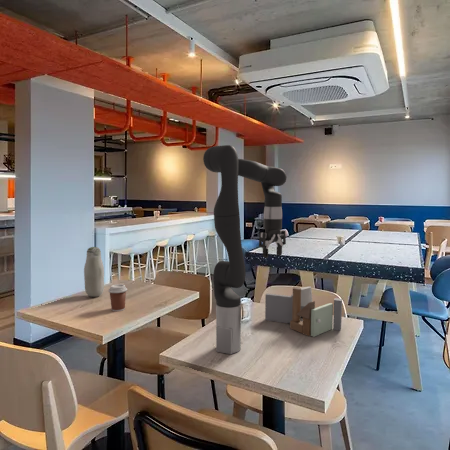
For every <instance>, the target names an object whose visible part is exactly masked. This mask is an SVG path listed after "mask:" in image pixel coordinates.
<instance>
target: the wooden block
mask: <svg viewBox="0 0 450 450" xmlns="http://www.w3.org/2000/svg"><path fill="white" fill-rule="evenodd" d="M301 288H302V287H297V286H295V287H293V288H292V294H293V303H292V320H291V321H290V323H289V328H290V330H293V331H295V332H297V333H300V334H302V335H305V336H306V337H307V336H308V337H310V336H311V309H314V308H316V301H315V300H314V301H313V300H312V302H309V303H308V304H307V305H306V306H305V307H304V308H303V309H302V310H301ZM301 318H302V321H301ZM311 337H312V336H311Z"/></svg>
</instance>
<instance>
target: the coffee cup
mask: <svg viewBox="0 0 450 450" xmlns="http://www.w3.org/2000/svg"><path fill="white" fill-rule="evenodd" d="M107 291H108V293H109V299H110V305H111V306H110V307H111V311H113V312H121V311H125V309H126V299H127V298H126V295H127V294H126V293H127V291H128V288H127V287H126V285H125V284H123V283H122V284H121V283H116V284H112V285H110V286H109V288H108V290H107Z"/></svg>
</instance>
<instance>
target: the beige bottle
mask: <svg viewBox="0 0 450 450" xmlns="http://www.w3.org/2000/svg"><path fill="white" fill-rule="evenodd" d="M103 263H104V261H103V259H102V252H101V249H100V248H99V247H98V246H90V247H88V248H87V250H86V258H85V263H84V268H83V277H84V290H85V293H86V294H87V296H89V297H90V298H98V297H100V296H102V295H103V293H104V290H105V266H104V264H103Z"/></svg>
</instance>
